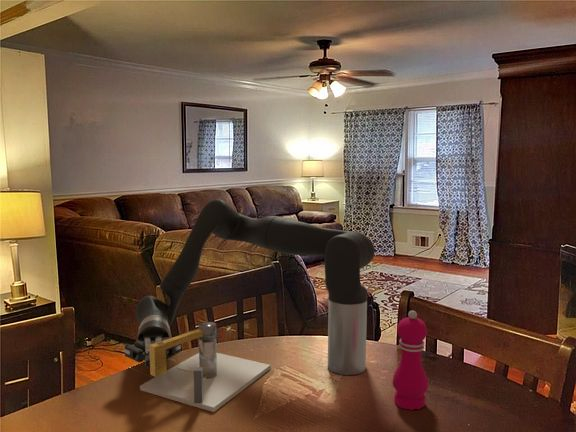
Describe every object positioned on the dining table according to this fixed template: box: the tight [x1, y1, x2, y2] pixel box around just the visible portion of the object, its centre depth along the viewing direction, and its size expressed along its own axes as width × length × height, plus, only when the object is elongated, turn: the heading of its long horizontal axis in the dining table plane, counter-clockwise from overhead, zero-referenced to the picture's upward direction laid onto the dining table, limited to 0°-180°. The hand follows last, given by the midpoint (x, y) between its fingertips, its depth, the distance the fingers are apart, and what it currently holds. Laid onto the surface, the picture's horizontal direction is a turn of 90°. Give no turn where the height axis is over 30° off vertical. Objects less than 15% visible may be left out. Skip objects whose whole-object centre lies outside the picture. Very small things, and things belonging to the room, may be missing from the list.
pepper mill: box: [392, 310, 429, 411], centre depth 102 cm, size 7×7×20 cm
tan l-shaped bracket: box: [149, 321, 217, 378], centre depth 108 cm, size 17×4×7 cm, turn 140°
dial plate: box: [139, 352, 272, 413], centre depth 114 cm, size 23×20×8 cm
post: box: [198, 338, 218, 379], centre depth 114 cm, size 4×4×8 cm
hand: (152, 364), depth 103 cm, fingers closed
